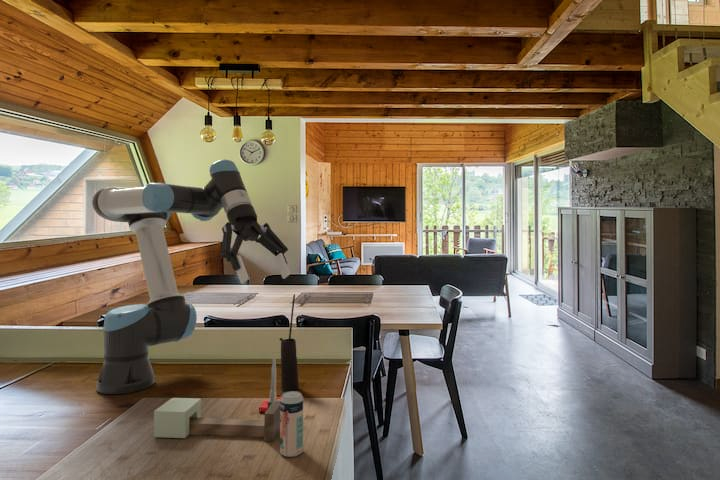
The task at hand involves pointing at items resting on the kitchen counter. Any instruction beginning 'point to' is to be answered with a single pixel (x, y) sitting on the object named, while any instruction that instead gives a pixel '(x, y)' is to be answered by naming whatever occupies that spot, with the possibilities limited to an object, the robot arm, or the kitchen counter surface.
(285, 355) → the butter churn
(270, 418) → the rail
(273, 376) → the tow hook
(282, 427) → the beer can
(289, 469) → the kitchen counter surface
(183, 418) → the slider
